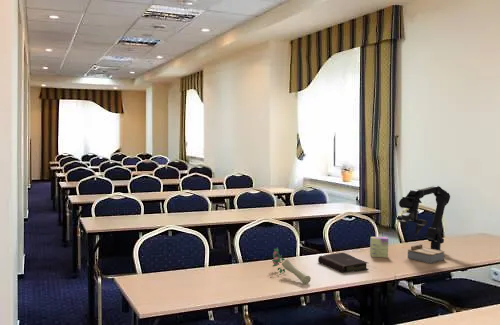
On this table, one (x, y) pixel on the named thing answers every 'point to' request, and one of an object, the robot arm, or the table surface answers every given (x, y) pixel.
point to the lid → (424, 250)
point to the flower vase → (290, 267)
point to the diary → (343, 262)
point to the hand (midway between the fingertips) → (409, 233)
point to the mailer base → (425, 257)
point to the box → (379, 247)
